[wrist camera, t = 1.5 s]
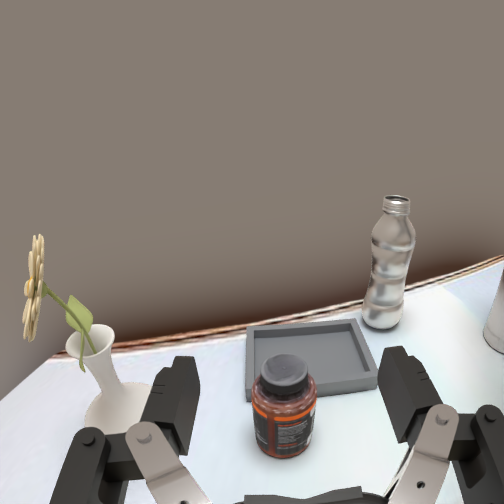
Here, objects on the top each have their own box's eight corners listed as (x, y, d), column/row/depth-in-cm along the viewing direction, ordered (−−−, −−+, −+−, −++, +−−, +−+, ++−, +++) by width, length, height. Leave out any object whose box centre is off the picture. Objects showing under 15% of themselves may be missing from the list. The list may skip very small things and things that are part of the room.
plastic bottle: (356, 312, 49) (366, 192, 41) (393, 309, 49) (409, 193, 40) (364, 336, 43) (381, 205, 35) (405, 332, 43) (428, 205, 35)
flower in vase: (93, 398, 34) (19, 216, 24) (174, 387, 37) (125, 192, 26) (89, 481, 22) (-48, 274, 12) (189, 472, 25) (101, 242, 15)
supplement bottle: (322, 437, 28) (335, 368, 24) (280, 469, 25) (281, 407, 21) (286, 408, 33) (287, 336, 28) (244, 435, 30) (234, 365, 25)
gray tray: (353, 331, 45) (355, 318, 44) (376, 388, 34) (380, 375, 33) (247, 339, 45) (246, 326, 44) (246, 402, 34) (245, 389, 33)
